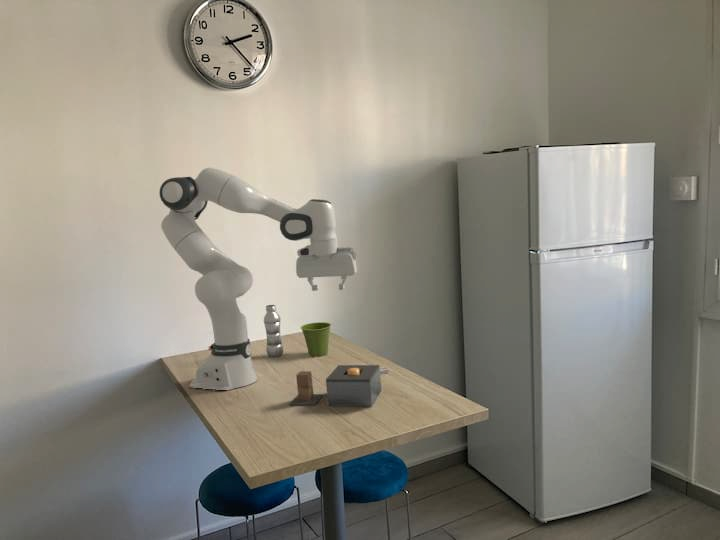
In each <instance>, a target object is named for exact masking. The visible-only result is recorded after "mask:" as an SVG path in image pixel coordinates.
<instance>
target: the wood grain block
mask: <svg viewBox="0 0 720 540" xmlns="http://www.w3.org/2000/svg"><path fill="white" fill-rule="evenodd" d="M295 376H296V385H297V386H296V387H297V395H298V398H299V401H311V399H312V398H313V397H314V395H313V394H314V386H313V377H312V376H313V375H312V371H311V370H308V371H307V370H306V371H303V370H302V371H299V372H298V373H297V374H296V375H295Z"/></svg>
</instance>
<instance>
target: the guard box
mask: <svg viewBox="0 0 720 540" xmlns="http://www.w3.org/2000/svg"><path fill="white" fill-rule="evenodd" d="M380 366H381V365H380V364H377V365H375V364H374V365H372V364H370V365H368V364H367V365H366V364H365V365H363V364H361V365H359V364H352V365H351V364H349V365H347V364H344V365H342V364H341V365H340V364H339V365H337V366H336V367H335V368H334V369H333V371H332V372H331V373H330V374H329V375H328V376H327V378H325V384H326V394H327V398H326V399H327V406H328V407H361V406H363V408H364V407H366V408H368V407H369V408H370V407H373V406H374V404H375V402H376V400H377V399H378V397H379V396H380V394H381V392H382V382H381V380H382V379H381V374H380V368H381V367H380ZM350 368H359V372H360V375H347V370H348V369H350Z"/></svg>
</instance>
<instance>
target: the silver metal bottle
mask: <svg viewBox="0 0 720 540" xmlns="http://www.w3.org/2000/svg"><path fill="white" fill-rule="evenodd" d="M276 310H277V308H276V304H268V305H265V311H266V313H265V314H264V317H263V323H264V327H265V328H264V329H265V334H266V350H265V351H266V354H267V356H269V357H272V358H274V357H275V356H276V357H280V356H282V355H283V353H284V345H283V343H282V337H281V316H280V314H278V313H277V311H276Z"/></svg>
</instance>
